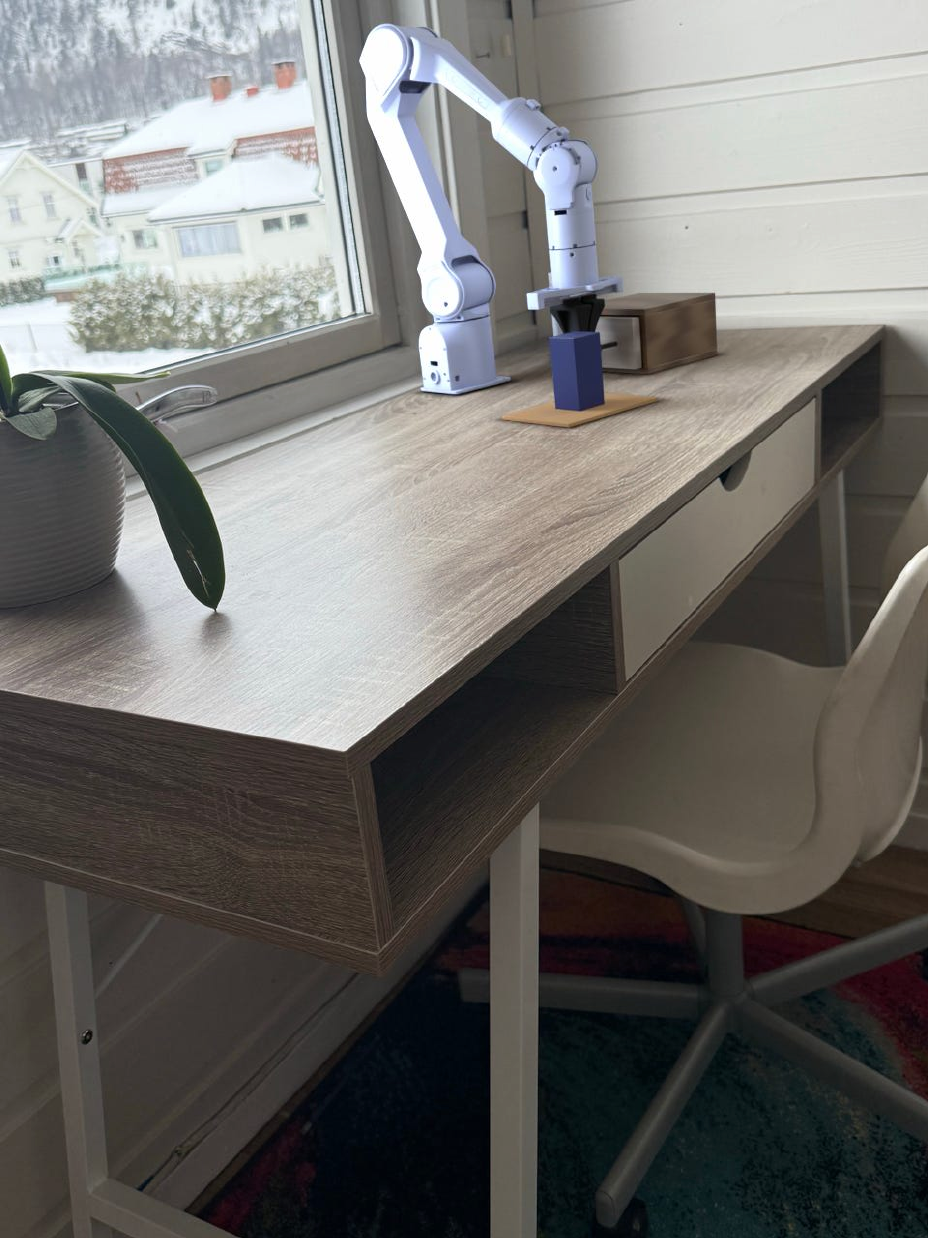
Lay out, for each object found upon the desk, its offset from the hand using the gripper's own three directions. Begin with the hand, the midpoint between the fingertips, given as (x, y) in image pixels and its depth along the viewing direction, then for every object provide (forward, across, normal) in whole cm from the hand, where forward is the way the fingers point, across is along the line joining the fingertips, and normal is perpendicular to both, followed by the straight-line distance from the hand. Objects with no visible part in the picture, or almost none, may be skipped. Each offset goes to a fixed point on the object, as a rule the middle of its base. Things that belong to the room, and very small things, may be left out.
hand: (581, 359), depth 144 cm
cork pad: (+3, -12, -12) cm, 17 cm away
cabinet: (+3, +14, +2) cm, 14 cm away
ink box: (+3, +15, +17) cm, 23 cm away
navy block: (+2, -12, -12) cm, 17 cm away
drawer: (+2, +9, +2) cm, 10 cm away
